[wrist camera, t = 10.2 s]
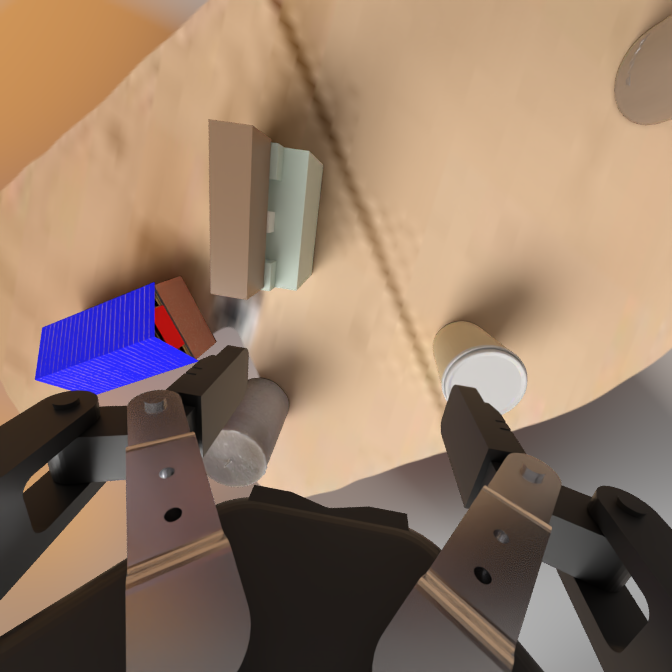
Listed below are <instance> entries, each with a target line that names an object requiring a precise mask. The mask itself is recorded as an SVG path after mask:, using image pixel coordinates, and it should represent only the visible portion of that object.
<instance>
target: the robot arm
mask: <svg viewBox="0 0 672 672" xmlns="http://www.w3.org/2000/svg"><path fill="white" fill-rule="evenodd" d="M615 100H616V103H617V106H618V109H619V110H620V111H621V113H622V114H623V116H625V117H626V118H627V119H628V120H630V121H632V122H634V123H637V124H643V125H651V124H658V123H661V122H664V121H668V120H671V119H672V15H671V16H669V17H668V18H666V19H664V20H663V21H661V22H660V23H658V24H657V25H655V26H654V27H652V28H651V29H649V30H648V31H647V32H646V33H644V34H643V35H642V36H641V37H640V38H639V39H638V40H637V41H636V42H635V43H634V44H633V45H632V46H631V48H630V49H629V51H628V52H627V54H626V55H625V57H624V59H623V61H622V63H621V65H620V67H619V70H618V73H617V76H616V80H615ZM248 358H249V353H248V349H247V348H242V347H236V346H230V345H228V346H226V347H225V348H224V349H223V350H222V351H221V352H220V353H219V354H218V355H216V356H215V355H211V356H208V357H206V358H203V359H201V360H199V361H198V362H197V363H196V364H195V365H194V366H193V367H192V368H190V369H189V370H188V371H187V372H186V374H183V375H182V376H181V377H180V378H179V379H178V380H176V381H175V382H174V383H173V384H172V385H171V386H169V387H168V388H167V389H166V390H154V391H149V392H145V393H142V394H140V395H138V396H136V397H134V398H133V399H132V400H131V401H130V402H129V403H128V405H127V406H105V407H99V402H98V397H97V395H96V394H94V393H92V392H90V391H83V390H76V391H67V392H62V393H58V394H55V395H52V396H50V397H47V398H45V399H43V400H42V401H40V402H38V403H37V404H35V405H34V406H32V407H30V408H29V409H27V410H26V411H24V412H22V413H21V414H19V415H18V416H16V417H14V418H13V419H11V420H9V421H8V422H6V423H5V424H3V425H1V426H0V600H1V599H2V598H3V597H4V596H5V595H6V593H7V592H8V591H9V590H10V589H11V588H12V587H13V585H15V583H16V582H17V581H18V580H19V579H20V578H21V577H22V576H23V574H24V573H25V572H26V571H27V570H28V569H29V568H30V567H31V565H32V564H33V563H34V562H35V561H36V560H37V559H38V558H39V557H40V555H41V554H42V553H43V552H44V551H45V550H46V549H47V548H48V546H49V545H50V544H51V543H52V542H53V541H54V540H55V539H56V537H57V536H58V535H59V534H60V533H61V532H62V531H63V530H64V529H65V527H66V526H67V525H68V524H69V523H70V522H71V521H72V519H73V518H74V517H75V516H76V515H77V514H78V513H79V512H80V510H81V509H82V508H83V507H84V506H85V505H86V504H87V503H88V502H89V500H90V499H91V498H92V497H93V496H94V495H95V494H96V492H98V490H99V489H100V488H101V487H102V486H103V485H104V484H105V483H106V481H115V480H126V509H127V558H126V559H125V560H123V561H121V562H120V563H118V564H117V565H115V566H113V567H112V568H110V569H109V570H107V571H105V572H104V573H102V574H100V575H99V576H97V577H96V578H94V579H92V580H91V581H89V582H88V583H86V584H84V585H83V586H81V587H80V588H78V589H76V590H75V591H73V592H71V593H70V594H68V595H67V596H65V597H63V598H62V599H60V600H59V601H57V602H55V603H54V604H52V605H50V606H49V607H47V608H46V609H44V610H42V611H41V612H39V613H37V614H36V615H34V616H33V617H31V618H29V619H28V620H26V621H25V622H23V623H21V624H20V625H18V626H16V627H15V628H13V629H12V630H10V631H8V632H7V633H5V634H4V635H2V636H0V672H544V671H543V670H542V669H541V668H540V666H539V665H538V664H537V663H536V662H535V660H534V659H533V658H532V657H531V656H530V655H529V653H528V652H527V651H526V649H525V648H524V647H523V646H522V645H521V643H520V642H519V641H518V637H519V634H520V630H521V627H522V624H523V621H524V617H525V614H526V611H527V608H528V605H529V601H530V598H531V595H532V592H533V588H534V585H535V582H536V579H537V576H538V572H539V569H540V566H541V563H542V562H544V563H546V564H548V565H550V566H552V567H555V568H556V569H557V572H558V574H559V576H560V578H561V580H562V582H563V584H564V587H565V589H566V591H567V593H568V595H569V597H570V600H571V602H572V604H573V606H574V608H575V610H576V612H577V614H578V617H579V619H580V621H581V623H582V625H583V628H584V630H585V632H586V634H587V636H588V638H589V640H590V642H591V645H592V647H593V649H594V651H595V653H596V655H597V658H598V660H599V662H600V664H601V666H602V668H603V670H604V672H672V529H671V528H670V527H669V526H668V525H667V523H666V522H665V521H664V520H663V519H662V518H661V517H660V516H659V515H658V513H657V512H656V511H654V510H653V509H652V508H651V507H650V506H648V505H647V504H646V503H645V502H643V501H642V500H640V499H639V498H637V497H635V496H634V495H632V494H630V493H628V492H626V491H623V490H621V489H618V488H615V487H610V486H600V487H598V488H597V490H596V491H595V493H594V495H593V496H592V497H590V496H588V495H585V494H582V493H579V492H577V491H575V490H572V489H570V488H567V487H565V486H562V485H561V480H560V478H559V476H558V475H557V474H556V472H555V471H554V470H553V469H552V468H550V467H549V466H548V465H547V464H545V463H544V462H542V461H540V460H539V459H536V458H535V457H532V456H530V455H527V454H526V453H525V451H524V450H523V448H522V447H521V445H520V443H519V442H518V440H517V439H516V437H515V436H514V434H513V433H512V432H511V431H510V430H511V429H510V428H509V426H508V425H507V424H506V423H505V420H504V419H503V417H502V415H501V414H500V412H499V411H497V410H496V409H495V408H494V407H493V406H491V405H490V404H489V403H485V402H484V401H483V399H482V397H481V396H480V394H479V392H478V390H477V389H476V388H474V387H468V386H462V385H456V384H455V385H454V386H453V387H452V389H451V392H450V395H449V398H448V401H447V404H446V407H445V411H444V414H443V417H442V421H441V435H442V438H443V441H444V444H445V448H446V451H447V454H448V457H449V460H450V463H451V466H452V470H453V473H454V476H455V479H456V482H457V485H458V488H459V492H460V495H461V498H462V501H463V504H464V507H465V508H468V511H467V513H466V514H465V515H464V517H463V518H462V520H461V521H460V523H459V524H458V526H457V527H456V529H455V531H454V532H453V534H452V535H451V537H450V538H449V540H448V541H447V543H446V544H445V546H444V547H443V549H442V550H441V549H440V548H439V547H438V546H436V545H435V544H434V543H433V542H432V541H430V540H429V539H427V538H426V537H424V536H423V535H421V534H419V533H418V532H416V531H414V530H412V529H410V528H409V527H408V519H407V514H405V513H400V512H395V511H389V510H384V509H379V508H373V507H352V508H351V507H348V508H327V507H324V506H322V505H320V504H317V503H315V502H313V501H311V500H308V499H306V498H304V497H302V496H299V495H297V494H295V493H293V492H289V491H284V490H278V489H273V488H268V487H263V486H257V485H254V487H253V489H252V492H251V494H250V496H249V497H248V498H238V499H233V500H229V501H225V502H222V503H219V504H217V505H215V502H214V498H213V495H212V492H211V488H210V484H209V481H208V477H207V474H206V470H205V467H204V463H203V460H202V458H203V457H204V456H205V454H206V453H207V451H208V450H209V448H210V447H211V445H212V444H213V442H214V441H215V439H216V438H217V437H218V435H219V434H220V432H221V431H222V429H223V428H224V426H225V425H226V423H227V422H228V420H229V419H230V417H231V416H232V415H233V413H234V412H235V410H236V409H237V407H238V406H239V404H240V403H241V401H242V400H243V398H244V396H245V393H246V390H247V383H248ZM46 463H48V466H49V471H48V472H47V473H46V474H45V475H43V476H42V477H41V478H40V479H39V480H38V481H37V482H35V483H34V484H33V485H32V486H31V487H30V488H28V489H27V490H26V491H25V492H24V493H23V490H24V487H25V485H26V483H27V481H28V480H29V479H30V478H31V476H32V475H33V474H34V473H36V472H37V471H38V470H39V469H40V468H42V467H43V466H44V465H45V464H46ZM631 576H632V578H633V579H634V581H635V582H636V584H637V585H638V587H639V588H640V590H641V591H642V593H643V595H644V596H645V598H646V601H647V603H648V607H649V620H648V621H647V619H646V617H645V616H644V614H643V613H642V611H641V609H640V608H639V606H638V605H637V603H636V602H635V600H634V598H633V597H632V595H631V594H630V592H629V590H628V589H627V587H626V586H625V584H626V582H627V581H628V580H629V578H630V577H631Z"/></svg>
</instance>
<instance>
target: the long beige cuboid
mask: <svg viewBox="0 0 672 672" xmlns="http://www.w3.org/2000/svg"><path fill="white" fill-rule="evenodd" d="M270 156H271V139H270V138H269V137H268V136H266V135H265V134H264V133H262V132H261V131H260V130H258V129H257V128H255V127H254V126H253V125H246V124H239V123H232V122H225V121H217V120H210V119H209V198H210V289H211V294H215V295H221V296H227V297H233V298H239V299H245V300H247V299H249V298H250V297H251V296H253V295H254V294H256V293H257V292H258V291H260V290H261V289H263V288H264V269H265V250H266V231H267V212H268V194H269V175H270Z"/></svg>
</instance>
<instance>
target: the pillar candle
mask: <svg viewBox="0 0 672 672" xmlns="http://www.w3.org/2000/svg"><path fill="white" fill-rule="evenodd" d="M288 410H289V401H288V397H287V396H286V394H285V393H284V392H283V390H282V389H281V388H280V387H279V386H278V385H277V384H276V383H274V382H272V381H270V380H267V379H263V378H252V379H249V380H248V383H247V390H246V393H245V396H244V398H243V400H242V401H241V403H240V404H239V406H238V407H237V409H236V410H235V412H234V413H233V415H232V416H231V417H230V419H229V420H228V422H227V423H226V425H225V426H224V428H223V429H222V431H221V432H220V434H219V435H218V437H217V438H216V439H215V441H214V442H213V444H212V445H211V447H210V448H209V450H208V451H207V453H206V454H205V456H204V457H203V458H202V460H203V463H204V467H205V470H206V474H207V475H208V476H209V477H210V478H211V479H213V480H215V481H216V482H218V483H220V484H223V485H226V486H231V487H244V486H248V485H250V484H253V483H255V482H257V481H258V480H259V479H260V478H261V477H262V476H263V475H264V474H265V473H266V471H265V470H266V469H267V464H268V462H269V459H270V457H271V454H272V452H273V449H274V447H275V444H276V441H277V439H278V436H279V434H280V431H281V429H282V426H283V424H284V421H285V418H286V416H287V413H288Z"/></svg>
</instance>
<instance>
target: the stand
mask: <svg viewBox="0 0 672 672" xmlns="http://www.w3.org/2000/svg"><path fill="white" fill-rule="evenodd" d="M322 174H323V164H322V163H321V162H320V161H319V160H318V159H317V158H316V157H315V156H314V155H313V154H312V153H311V152H310V151H306V150H299V149H291V148H284V147H283V146H282V145H280V144H279V143H272V142H271V156H270V175H269V194H268V212H267V231H266V250H265V269H264V288H263V289H261V290H265V291H271V290H272V289H273V288H274V287H277V288H283V289H289V290H297V289H298V288H299V287H300V286H301V285H302V284H303V283H304V282H305V281H306V280H307V279H308V278H309V277H310V276H311V275H312V266H313V256H314V247H315V238H316V229H317V220H318V210H319V201H320V192H321V183H322Z"/></svg>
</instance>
